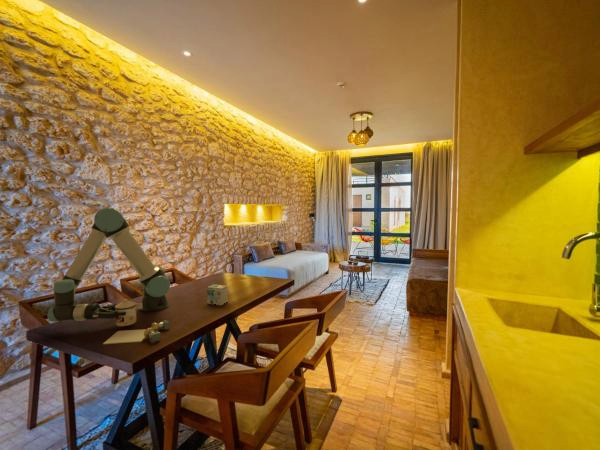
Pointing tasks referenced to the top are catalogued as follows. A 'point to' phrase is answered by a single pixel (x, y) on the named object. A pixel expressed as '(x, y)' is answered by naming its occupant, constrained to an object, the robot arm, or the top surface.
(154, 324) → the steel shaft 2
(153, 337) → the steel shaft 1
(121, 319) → the teacup with lid
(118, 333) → the pad
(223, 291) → the light bulb box
